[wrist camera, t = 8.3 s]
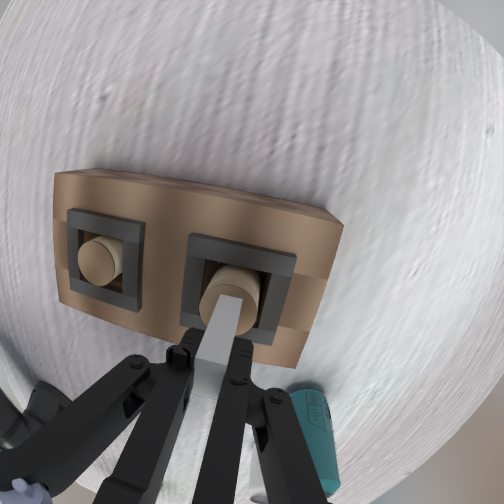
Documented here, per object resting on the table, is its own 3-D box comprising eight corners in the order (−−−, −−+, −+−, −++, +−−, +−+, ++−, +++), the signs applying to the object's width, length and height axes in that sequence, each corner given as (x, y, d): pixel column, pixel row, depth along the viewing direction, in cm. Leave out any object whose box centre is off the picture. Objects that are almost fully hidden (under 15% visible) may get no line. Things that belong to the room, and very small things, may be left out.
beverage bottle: (271, 393, 34) (264, 524, 15) (312, 372, 32) (327, 512, 13) (297, 413, 35) (300, 531, 16) (335, 395, 34) (355, 518, 15)
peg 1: (119, 252, 28) (79, 279, 21) (120, 218, 27) (77, 237, 19) (149, 260, 28) (113, 291, 21) (152, 225, 27) (113, 247, 19)
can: (271, 431, 37) (269, 491, 26) (297, 443, 38) (298, 499, 27) (245, 443, 39) (238, 498, 28) (270, 455, 40) (268, 507, 29)
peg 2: (216, 284, 26) (196, 328, 19) (223, 246, 25) (202, 280, 18) (257, 293, 26) (250, 340, 19) (265, 255, 25) (262, 293, 18)
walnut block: (91, 278, 31) (54, 305, 23) (94, 168, 26) (47, 174, 19) (291, 328, 30) (295, 375, 23) (326, 209, 26) (347, 228, 18)
